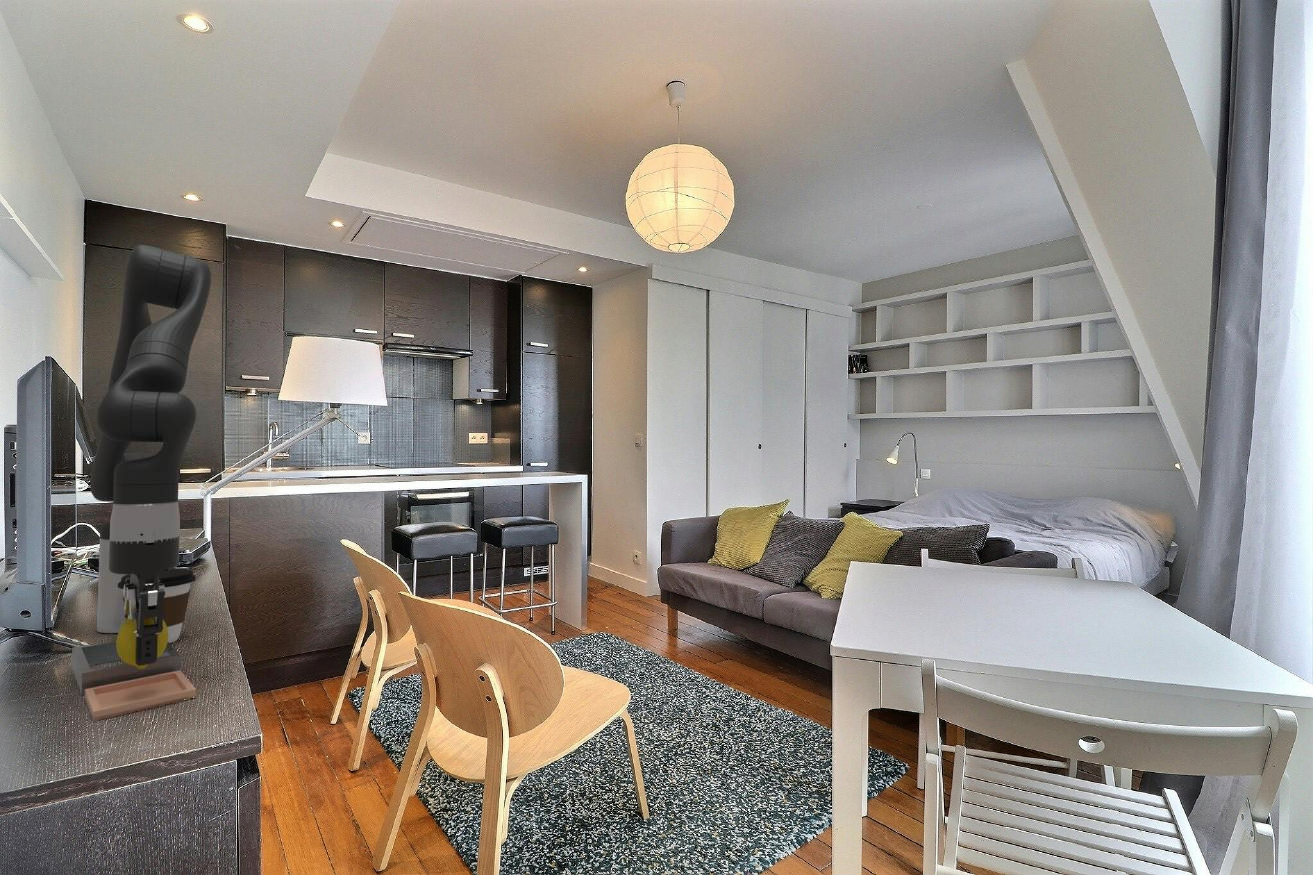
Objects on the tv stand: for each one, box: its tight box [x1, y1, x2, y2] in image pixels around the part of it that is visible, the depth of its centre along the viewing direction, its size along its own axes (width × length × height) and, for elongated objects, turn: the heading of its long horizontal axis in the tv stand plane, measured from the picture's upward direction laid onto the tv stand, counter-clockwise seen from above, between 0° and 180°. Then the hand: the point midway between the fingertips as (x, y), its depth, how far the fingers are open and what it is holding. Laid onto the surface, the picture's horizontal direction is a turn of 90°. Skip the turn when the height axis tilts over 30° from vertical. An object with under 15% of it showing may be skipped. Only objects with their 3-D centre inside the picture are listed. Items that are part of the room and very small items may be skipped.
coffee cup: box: [118, 568, 197, 644], centre depth 112 cm, size 11×11×12 cm
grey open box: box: [71, 640, 181, 696], centre depth 97 cm, size 16×11×3 cm
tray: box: [84, 670, 197, 722], centre depth 86 cm, size 11×11×1 cm
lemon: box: [115, 618, 168, 669], centre depth 87 cm, size 6×6×8 cm
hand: (142, 657), depth 87 cm, fingers closed on lemon, 5 cm apart
